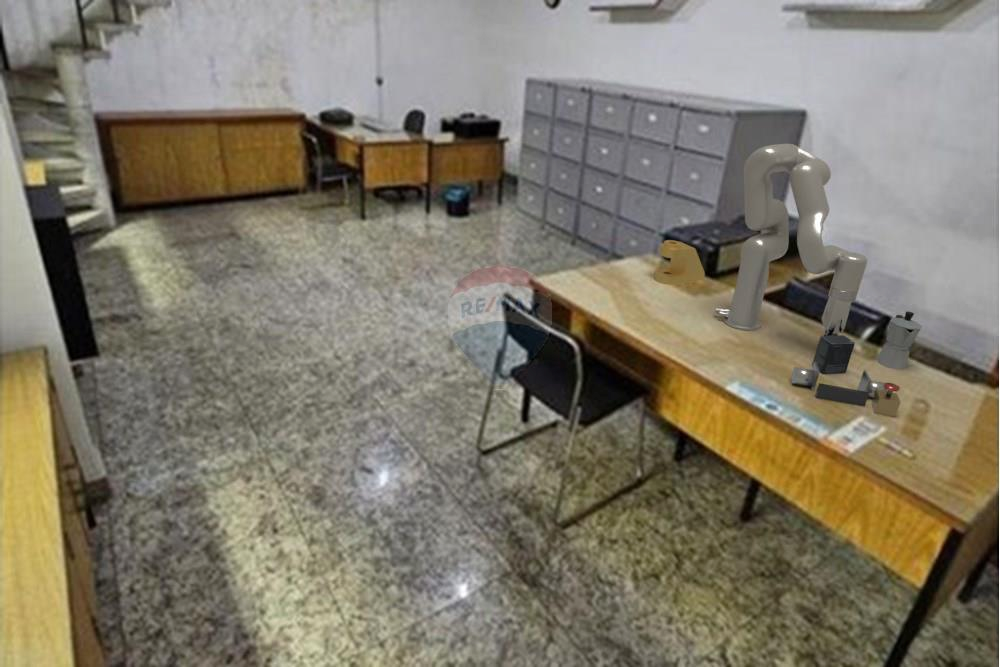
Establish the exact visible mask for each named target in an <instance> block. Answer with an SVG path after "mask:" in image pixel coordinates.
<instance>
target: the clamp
mask: <svg viewBox="0 0 1000 667" xmlns="http://www.w3.org/2000/svg"><path fill="white" fill-rule="evenodd" d="M659 245H660V246H659V250H658V254H659V255H660V256H662V257H664V258H666V259H670V263H669V267H667V268H659V269H656V270H655V273H654V281H655V282H657V283H659V284H662V285H677V284H685V283H689V282H690V283H691V282H698V281H704V280H705V275H706V272H705V270H704V267H703V265H702V263H701V259H700V257H699V254H698V252H697V248H695V247H693V246H690V245H688V244H686V243H684V242H683V241H679V240H678V241H677V240H673V239H672V240H671V239H667V240H664V241H663V243H660V244H659Z"/></svg>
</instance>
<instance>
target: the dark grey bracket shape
mask: <svg viewBox="0 0 1000 667" xmlns="http://www.w3.org/2000/svg"><path fill="white" fill-rule="evenodd" d="M812 364H813V366H812V367H811V369H809V368H802V367H797V366H794V367H793V369H792V371H791V377H790V383H791V384H792V385H798V386H799V385H800V386H804V387H809V388H810V390H811V392H814V391H815V388H816V385H817V382H818V379H819V375H820V374H821V373H820V371H819V368H818V365H817V362H815V361H814V363H813V362H812ZM885 383H886V382H883V381H882V382H880V381H875V380H872V379H871V376H870V375H869V373H868V371H867V370H865V369H864V370H863V372H862V375H861V377H860V380H859V383H858V386H857V389H854V388H847V387H841V386H836V385H831V384H825V383H821V382H819V383H818V385H817V388H816V392H815V394H814V395H815V396H814V397H815V398H816V399H821V400H827V401H831V402H832V401H833V402H837V403H842V404H843V403H844V404H849V405H854V406H855V405H856V406H860V407H861V406H862V407H866V404H867V401H868V398H870V399H873V398H874V395H875V392H876V390H882V391H888V389H886V388H885V387H884V384H885Z"/></svg>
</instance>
